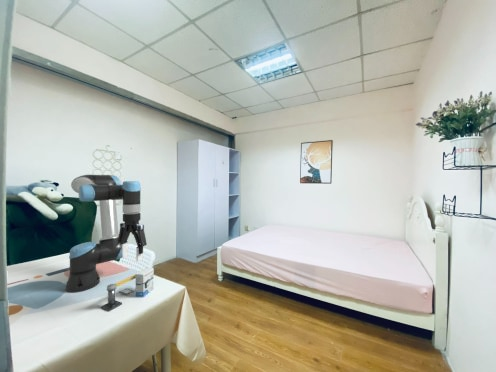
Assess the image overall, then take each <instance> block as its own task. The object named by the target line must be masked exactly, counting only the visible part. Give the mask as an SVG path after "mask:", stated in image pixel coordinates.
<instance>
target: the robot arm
mask: <svg viewBox="0 0 496 372" xmlns="http://www.w3.org/2000/svg"><path fill="white" fill-rule="evenodd" d="M70 187H71V189H72V190H73V191H74V192H75V193H77V194H78V199H79V201H80V202H91V203H92V202H98V201H99V212H100V226H101V238H99V239H98V243H96V242H95V241H88V242H87V241H86V242H82V243H80V244H77V245H74V246H73V247H71V248H70V250H69V257H68V258H69V276H68V279H67V281H66V284H65V291H66V292H67V293H78V292H85V291H87V290H90V289H92V288H95V287H96V286H98V285H99V284H100V282H101V278H100V275H99V272H98V270H97V265H99V264H104V263H109V262H113V261H116V260H119V259H123V258H126V257H128V256H129V253H128V252H129V250H128V249H129V244H128V239H129V237H130V235H133V237H134V240H135V243H136V245H137V247H136V250H135V251H136V252H135V253H136V257H135V258H136V260H135V261H136V262H139V261H142V260H143V254H144V247H145V246H147V244H148V243H147V240H146V239H147V238H146V234H145V225H144V224H140V223H139V221H141V219H142V218H141V190H142V189H141V188H142V187H141V183H140V181H138V180H133V181H132V180H131V181H130V180H129V181H128V180H127V181H125V180H124V181H122V184H121V182H120V179H119V177H118V176H117V175H113V174H112V175H111V174H83V175H80V176H78V177H75V178H74V179H73V180H72V181H71V184H70ZM118 200H120V201H121V200H122V213H123V214H122V222H121V223H119V226H118V214H117V213H118V212H117V203H116V202H117V201H118Z"/></svg>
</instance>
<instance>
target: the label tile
mask: <svg viewBox="0 0 496 372" xmlns="http://www.w3.org/2000/svg"><path fill="white" fill-rule="evenodd" d="M134 292H135V291H134V290H132V289H128V288H125V289H122V290H121V291H119V292H118V293H119V294H121V295H124V296H126V297H127V296H128V295H130V294H131V295H132V293H134Z"/></svg>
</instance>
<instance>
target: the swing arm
mask: <svg viewBox="0 0 496 372" xmlns="http://www.w3.org/2000/svg"><path fill="white" fill-rule="evenodd" d="M133 280H136V273H135V274H133V275H131V276H129V277H127V278H124V279H122V280H120V281H118V282H116V283H111V284H108V285H106V292H108V291H113V290H115V291H116V289H117V288H118V287H120V286H122V285H124V284H127V283H128V282H131V281H133Z"/></svg>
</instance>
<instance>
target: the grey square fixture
mask: <svg viewBox="0 0 496 372" xmlns="http://www.w3.org/2000/svg"><path fill="white" fill-rule="evenodd" d="M122 305H123V302H121V301H118V300H116V289H115V290H113V291H107V303H105V304H103V305H101V306H100V309H102V310H105V311H106V312H111V311H113V310H114V309H116V308H118V307H120V306H122Z"/></svg>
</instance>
